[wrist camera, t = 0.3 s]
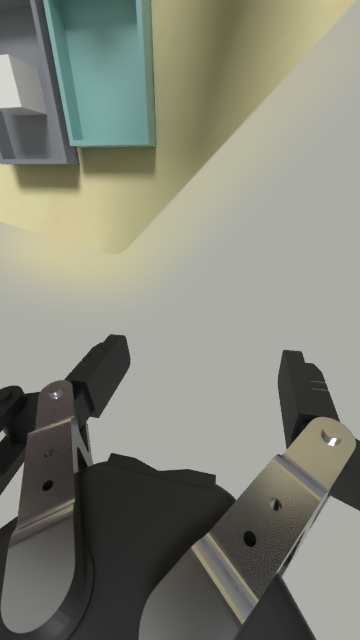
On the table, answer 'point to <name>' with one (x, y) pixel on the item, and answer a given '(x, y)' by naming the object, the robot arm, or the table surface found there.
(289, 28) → the table surface
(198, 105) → the table surface
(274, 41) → the table surface
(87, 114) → the bin
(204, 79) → the table surface
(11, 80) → the stone block
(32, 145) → the bin
